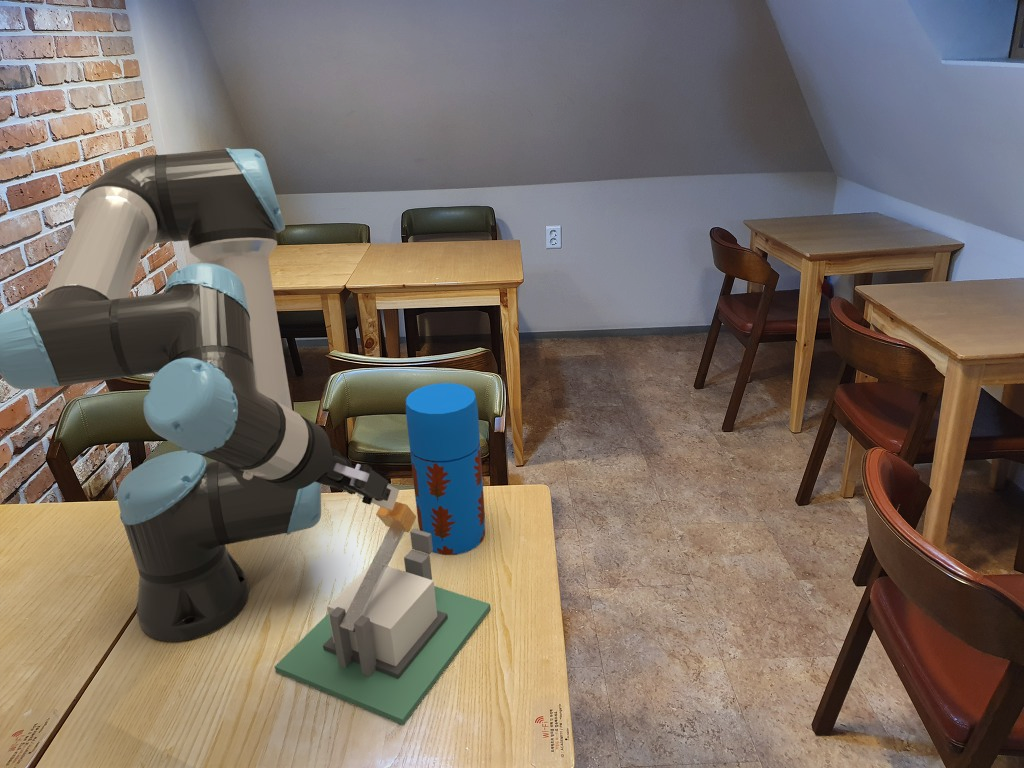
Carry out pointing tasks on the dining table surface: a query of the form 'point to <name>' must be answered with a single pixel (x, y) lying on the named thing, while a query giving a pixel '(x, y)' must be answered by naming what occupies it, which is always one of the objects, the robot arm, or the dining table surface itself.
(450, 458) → the thermos
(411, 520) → the grey and orange bar
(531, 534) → the dining table surface
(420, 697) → the lever on green base
